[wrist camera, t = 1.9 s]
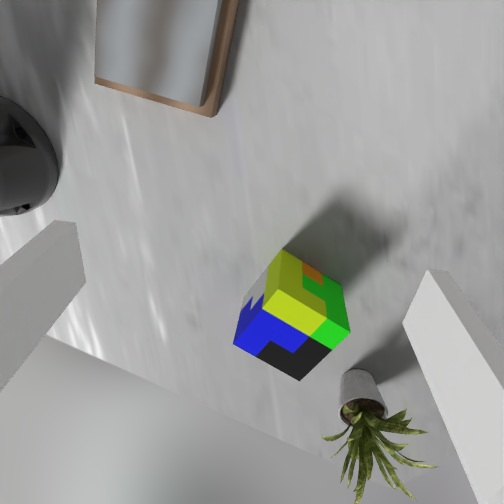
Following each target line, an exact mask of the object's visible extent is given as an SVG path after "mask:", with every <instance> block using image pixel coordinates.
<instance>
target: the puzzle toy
mask: <svg viewBox="0 0 504 504" xmlns="http://www.w3.org/2000/svg"><path fill="white" fill-rule="evenodd" d="M350 333H351V332H350V327H349V322H348V317H347V312H346V307H345V302H344V297H343V292H342V287H341V285H340V284H338V283H336V282H335V281H333V280H332V279H330V278H328V277H327V276H325V275H323V274H322V273H320V272H319V271H317V270H315V269H314V268H312V267H311V266H309V265H307V264H306V263H304V262H303V261H301V260H299V259H298V258H296V257H295V256H293V255H291V254H290V253H288V252H287V251H285V250H283V249H281V251H280V252H279V253H278V254H277V256H276V257H275V258H274V260H273V261H272V262H271V264H270V265H269V266H268V267H267V269H266V270H265V271H264V273H263V274H262V275H261V276H260V278H259V279H258V280H257V282H256V283H255V284H254V286H253V287H252V288H251V289H250V291H249V292H248V293H247V295H246V296H245V297H244V300H243V304H242V308H241V312H240V316H239V321H238V325H237V329H236V333H235V337H234V341H233V344H234V345H236V346H237V347H239V348H241V349H243V350H244V351H246V352H248V353H250V354H252V355H253V356H255V357H257V358H259V359H261V360H262V361H264V362H266V363H268V364H270V365H271V366H273V367H275V368H277V369H279V370H280V371H282V372H284V373H286V374H287V375H289V376H291V377H293V378H295V379H296V380H298V381H300V380H301V379H302V378H303V377H305V376H306V375H307V374H308V373H309V372H310V371H311V370H312V369H313V368H314V367H315V366H316V365H317V364H318V363H319V362H320V361H321V360H322V359H323V358H324V357H325V356H327V355H328V354H329V353H330V352H331V351H332V350H333V349H334V348H335V347H336V346H337V345H338V344H339V343H340V342H341V341H342V340H343V339H344V338H345V337H346V336H347V335H348V334H350Z"/></svg>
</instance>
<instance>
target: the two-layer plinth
mask: <svg viewBox="0 0 504 504" xmlns="http://www.w3.org/2000/svg"><path fill="white" fill-rule="evenodd" d="M239 1H240V0H97V19H96V46H95V73H94V76H95V84H98V85H102V86H105V87H109V88H112V89H115V90H119V91H122V92H125V93H129V94H132V95H136V96H139V97H142V98H146V99H149V100H153V101H156V102H159V103H163V104H166V105H169V106H173V107H176V108H180V109H183V110H186V111H190V112H193V113H197V114H200V115H203V116H207V117H210V118H212V117H214V116H215V115H217V111H218V106H219V101H220V96H221V91H222V86H223V81H224V76H225V71H226V66H227V61H228V56H229V51H230V46H231V41H232V36H233V31H234V26H235V21H236V16H237V11H238V6H239Z"/></svg>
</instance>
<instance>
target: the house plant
mask: <svg viewBox="0 0 504 504" xmlns="http://www.w3.org/2000/svg"><path fill="white" fill-rule="evenodd" d="M405 413H406V410H404V411H401V412H399V413H397V414H395V415H394V416H392V417H390V418H388V419H387V417H388V410H387V407H386V405H385V403H384V401H383V398H382V396H381V394H380V392H379V390H378V388H377V386H376V383H375V381H374V379H373V377H372V376H371V374H370V373H368V372H367V371H365V370H361V369H354V370H350V371H347V372H346V373H344V374H343V375H342V377H341V381H340V395H339V410H338V415H339V418H340V420H341V421H342V422H343V423H344V424H345V425H347V426H348V427H347V429H346V430H345V431H344V432H342V433H340V434H338V435H335V436H332V437H323V436H321V437H322V438H323V439H324V440H326V441H334V440H336V439H338V438H340V437H341V436H343V435H344V434H345V433H346V432H347V430H348V429H349V427H351V428H353V429H352V432H351V434H350V436H349V438H348V437H347V441H346V443H345V444H344V445H343V446H342V447H341V449H342V448H343V447H344V446H345V445H346V444H347V443H348V442H349V443H348V447H349V452H348V454H347V457H346V459H345V462H344V467H343V472H342V476H341V481H342V479H343V477H344V474H345V472H346V470H347V468H348V464H349V460H350V458H352V461H351V465H350V469H349V475H348V487H349V485H350V481H351V478H352V475H353V470H354V465H355V461H356V459H359V474H358V481H357V487H356V489H355V490H354V491H356V500H355V504H358V503H359V502H360V500H361V498H362V494H363V491H364V487H365V482H366V477H367V478H368V480H369V479H370V477H371V471H372V467H373V457H372V452H373V454H374V456H375V458H376V460H377V463H378V465H379V467H380V470H381V472H382V474H383V476H384V478H385V480H386V481H387V482H388V483H389V484H390V485H391V486H392V487H393V488H394V489H396V488H395V487H394V486H393V484H392V483H391V481H390V480H389V478H388V476H387V474H386V472H385V470H384V468H383V465H382V463H381V461H382V462H383V463H384V465H385V467H386V469H387V471H388V473H389V474H390V476H391V478H392V480H393V481H394V483H395V484H396V486H397V487H398V488H399V489H401V490H402V491H403V492H404V493H406V494H407V495H408V496H409V497H411V498H413V499H415V498H414V497H413V496H412V495H411V494H410V493H409V492H408V491H407V490H406V488H405V487H404V486H403V485H402V483H401V482H400V480H399V479H398V477H397V475H396V473H395V471H394V469H396V468H395V467H393V466H392V465H391V464H390V462H389V461H388V460H387V458H386V457H385V455H384V453H383V452H382V450H381V448H380V447H379V445H378V443H379V444H380V445H381V446H382V447H383V448H384V449H385V450H387V451H388V452H389V453H390V454H391V456H392V457H393V458H394V459H395V460H397V461H398V462H399V463H400V464H403V463H404V464H407V465H409V466H412V467H418V468H436V466H429V465H422V464H417V463H413V462H426V461H414V460H411V459H408V458H406V457H405V456H403V455H402V454H400V453H399V452H398V451H399V450H401V449H403V448H404V446H405V445H406V444H395V443H392V442H390V441H388V440H387V439H386V438H385V437H384V436H383V435H382V434H381V432H380V431H385V432H392V433H400V434H414V435H415V434H422V433H427V432H425V431H422V430H415V429H409V428H407V427H406V426H407V425H408V424H409V422H410V421H411V419H412V418H411V419H410V420H404V421H402V420H403V419H404V417H405ZM379 430H380V431H379ZM375 435H376V436H377V437H379V439H380V440H381V441H382V442H383V443H384V444H383V443H381V442H380V441H379V440H378V439H377V437H376V436H375ZM375 439H376V440H377V441H376V440H375ZM377 442H378V443H377ZM341 449H340V450H341ZM340 450H339V451H340ZM394 450H395V451H397V452H398V453H399V454H400V455H402V456H403V457H405V458H406V459H408V460H410V461H413V462H410V461H408V460H405V459H403V458H401V457H400V456H398V455H397V454H396V453H395V452H394ZM339 451H338V452H337V453H336V454H338V453H339ZM336 454H335V455H336ZM335 455H333V456H335ZM333 456H332V457H333ZM380 460H381V461H380ZM393 468H394V469H393Z"/></svg>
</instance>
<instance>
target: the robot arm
mask: <svg viewBox="0 0 504 504" xmlns="http://www.w3.org/2000/svg"><path fill="white" fill-rule="evenodd" d="M57 178H58V167H57V160H56V156H55V153H54V150H53V147H52V145H51V143H50V141H49V139H48V137H47V135H46V134H45V132H44V131H43V129H42V128H41V127H40V125H39V124H38V123H37V122H36V120H35V119H34V118H33V117H32V116H31V115H30V114H29V113H28V112H26V111H25V110H24V109H23V108H21V107H20V106H19V105H17V104H16V103H14V102H12V101H10V100H8V99H6V98H4V97H2V96H0V216H13V215H20V214H24V213H27V212H29V211H31V210H33V209H35V208H37V207H39V206H41V205H42V204H44V203H45V202H46V201H47V200H48V199H49V198H50V197H51V195H52V194H53V192H54V190H55V187H56V184H57ZM85 283H86V278H85V273H84V267H83V262H82V256H81V250H80V245H79V239H78V233H77V228H76V223H73V222H66V221H58V220H54V221H53V222H52V223H51V224H50V225H48V226H47V227H46V228H45V229H44V230H42V231H41V232H40V233H39V234H38V235H36V236H35V237H34V238H33V239H32V240H30V241H29V242H28V243H27V244H26V245H24V246H23V247H22V248H21V249H20V250H18V251H17V252H16V253H15V254H13V255H12V256H11V257H10V258H9V259H7V260H6V261H5V262H4V263H3V264H1V265H0V392H1V391H2V389H3V388H4V387H5V386H6V384H7V383H8V382H9V380H10V379H11V378H12V377H13V375H14V374H15V373H16V371H17V370H18V369H19V368H20V366H21V365H22V364H23V362H24V361H25V360H26V359H27V357H28V356H29V355H30V353H31V352H32V351H33V350H34V348H35V347H36V346H37V344H38V343H39V342H40V341H41V339H42V338H43V337H44V335H45V334H46V333H47V332H48V330H49V329H50V328H51V327H52V325H53V324H54V323H55V321H56V320H57V319H58V318H59V316H60V315H61V314H62V312H63V311H64V310H65V309H66V307H67V306H68V305H69V303H70V302H71V301H72V300H73V298H74V297H75V296H76V294H77V293H78V292H79V291H80V289H81V288H82V287H83V285H84V284H85ZM402 324H403V326H404V329H405V331H406V333H407V336H408V338H409V340H410V343H411V345H412V347H413V350H414V352H415V355H416V357H417V359H418V362H419V364H420V366H421V369H422V371H423V373H424V376H425V378H426V380H427V383H428V385H429V387H430V390H431V392H432V395H433V397H434V399H435V402H436V404H437V406H438V409H439V411H440V413H441V416H442V418H443V420H444V423H445V425H446V427H447V430H448V432H449V435H450V437H451V439H452V442H453V444H454V446H455V449H456V451H457V453H458V456H459V458H460V460H461V463H462V465H463V468H464V470H465V472H466V475H467V477H468V479H469V482H470V484H471V486H472V489H473V491H474V493H475V496H476V498H477V500H478V503H479V504H504V350H503V348H502V347H501V345H500V344H499V343H498V341H497V340H496V338H495V337H494V336H493V334H492V333H491V331H490V330H489V329H488V327H487V326H486V324H485V323H484V322H483V320H482V319H481V317H480V316H479V314H478V313H477V312H476V310H475V309H474V307H473V306H472V305H471V303H470V302H469V300H468V299H467V298H466V296H465V295H464V293H463V292H462V291H461V289H460V288H459V286H458V285H457V283H456V282H455V281H454V279H453V278H452V276H451V275H450V274H449V272H448V271H440V270H432V269H427V271H426V273H425V275H424V278H423V280H422V282H421V284H420V286H419V288H418V291H417V293H416V295H415V297H414V299H413V301H412V303H411V306H410V308H409V310H408V312H407V314H406V316H405V318H404V321H403V323H402Z"/></svg>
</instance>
